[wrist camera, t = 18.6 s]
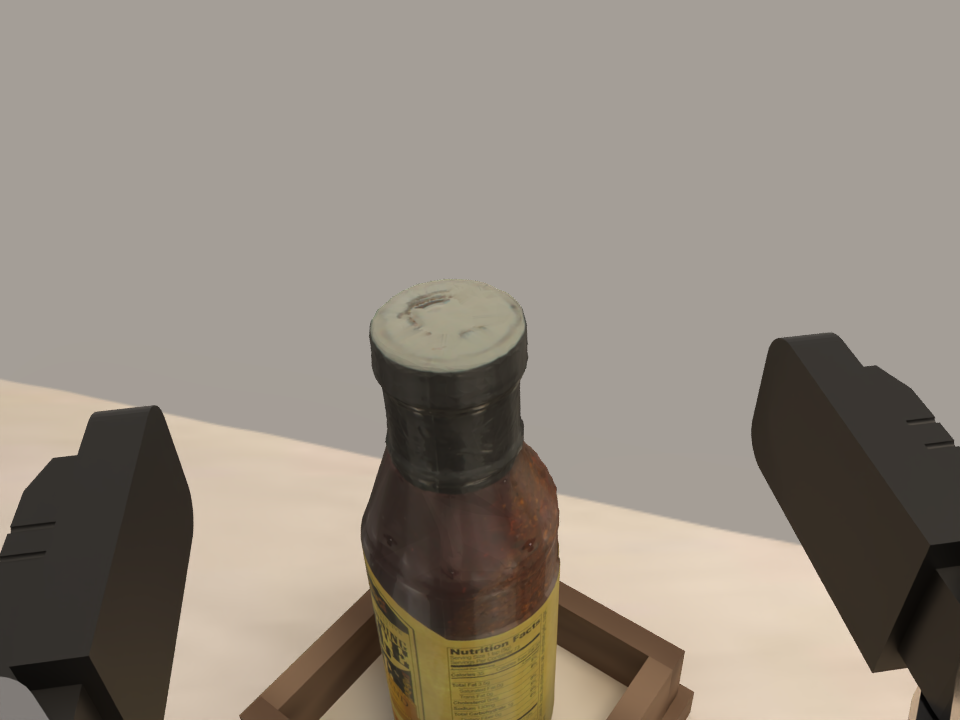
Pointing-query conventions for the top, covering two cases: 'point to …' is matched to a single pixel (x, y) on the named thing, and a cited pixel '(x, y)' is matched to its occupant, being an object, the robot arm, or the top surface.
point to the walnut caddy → (578, 676)
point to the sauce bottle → (460, 512)
